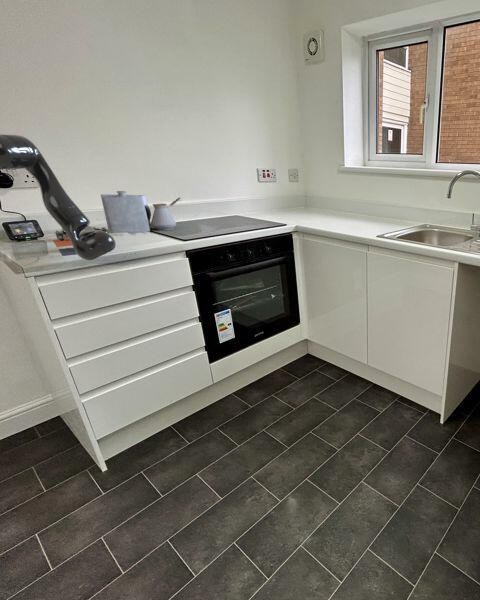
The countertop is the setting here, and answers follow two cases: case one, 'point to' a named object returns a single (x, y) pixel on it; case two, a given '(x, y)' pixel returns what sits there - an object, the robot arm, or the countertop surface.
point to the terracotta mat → (62, 243)
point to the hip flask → (125, 213)
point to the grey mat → (67, 251)
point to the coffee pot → (163, 217)
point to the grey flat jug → (132, 195)
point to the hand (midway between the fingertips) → (79, 230)
